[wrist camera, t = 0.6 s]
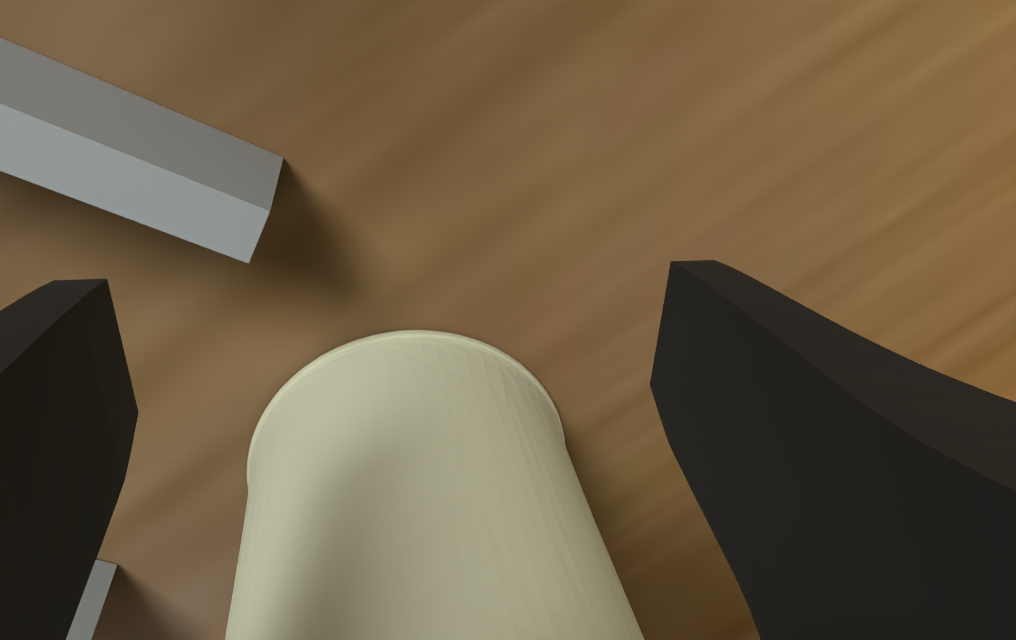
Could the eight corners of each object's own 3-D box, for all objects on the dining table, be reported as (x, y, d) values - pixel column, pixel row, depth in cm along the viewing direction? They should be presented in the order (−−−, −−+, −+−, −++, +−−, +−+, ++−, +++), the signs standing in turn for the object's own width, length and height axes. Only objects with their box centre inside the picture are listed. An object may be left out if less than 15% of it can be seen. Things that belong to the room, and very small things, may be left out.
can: (349, 629, 27) (352, 1101, 16) (180, 421, 22) (33, 880, 12) (607, 506, 26) (783, 907, 16) (485, 271, 22) (616, 605, 11)
